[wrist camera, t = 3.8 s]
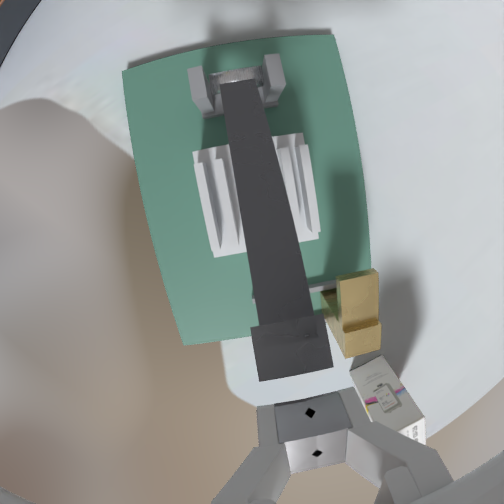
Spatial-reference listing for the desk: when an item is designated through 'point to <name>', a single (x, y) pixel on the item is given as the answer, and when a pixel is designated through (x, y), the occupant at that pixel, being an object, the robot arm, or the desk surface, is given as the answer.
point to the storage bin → (13, 21)
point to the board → (177, 185)
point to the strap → (269, 237)
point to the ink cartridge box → (388, 399)
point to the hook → (354, 312)
